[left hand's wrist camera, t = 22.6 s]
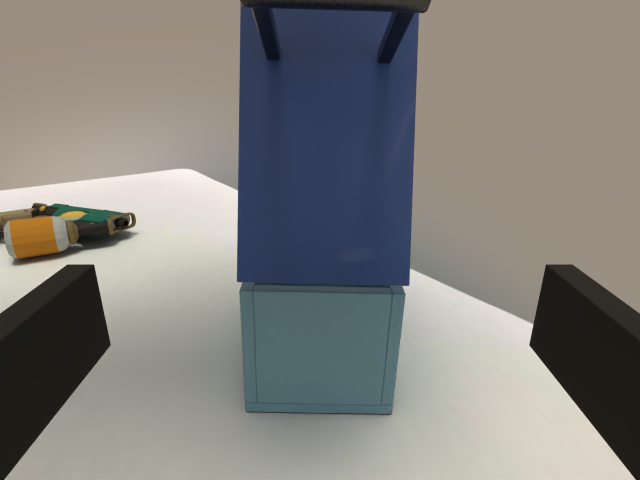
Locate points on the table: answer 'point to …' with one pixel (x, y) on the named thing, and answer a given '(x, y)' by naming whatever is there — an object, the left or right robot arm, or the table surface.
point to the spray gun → (56, 227)
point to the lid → (326, 140)
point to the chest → (320, 346)
